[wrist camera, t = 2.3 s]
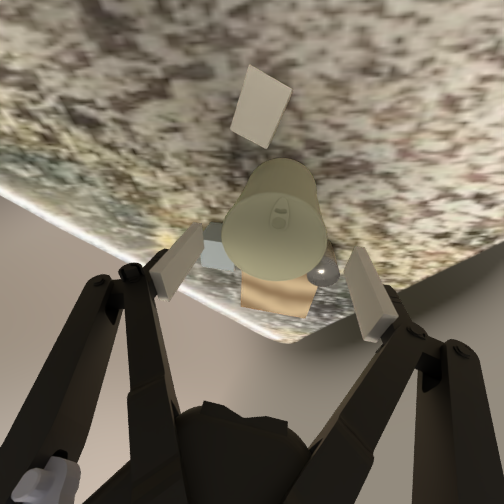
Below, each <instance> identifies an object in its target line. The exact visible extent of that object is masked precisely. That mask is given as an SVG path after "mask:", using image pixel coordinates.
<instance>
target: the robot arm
mask: <svg viewBox="0 0 504 504" xmlns="http://www.w3.org/2000/svg"><path fill="white" fill-rule="evenodd" d="M203 250H204V240H203V230H202V223H195V222H193V224H192V225H191V226H190V227H189V228H188V229H187V230H186V231H185V232H184V233H183V234H182V236H181V237H180V238H179V239H178V240H177V241H176V242H175V243H174V244H173V245H172V247H171V248H170V249H163V250H161V251H159V252H158V253H157V254H156V255H155V256H154V257H153V258H152V259H151V261H149V262H148V263H147V264H146V265H145V266H144V267H143V268H142V265H141V264H139V263H129V264H126V265H124V266H122V267H121V268H120V269H119V271H118V273H119V275H120V278H121V279H119V280H112V279H111V277H110V276H109V275H105V274H101V275H97V276H95V277H93V278H91V279H90V280H89V281H88V282H87V283H86V285H85V287H84V289H83V290H82V292H81V294H80V296H79V298H78V300H77V302H76V304H75V306H74V308H73V310H72V312H71V314H70V315H69V317H68V319H67V321H66V323H65V325H64V327H63V329H62V331H61V333H60V335H59V337H58V338H57V341H56V342H55V344H54V346H53V348H52V350H51V352H50V354H49V356H48V358H47V360H46V362H45V363H44V365H43V367H42V369H41V371H40V373H39V375H38V377H37V379H36V381H35V383H34V385H33V387H32V388H31V390H30V393H29V394H28V396H27V398H26V400H25V402H24V404H23V406H22V408H21V410H20V412H19V413H18V415H17V417H16V419H15V421H14V423H13V425H12V427H11V429H10V431H9V433H8V435H7V437H6V438H5V441H4V442H3V444H2V446H1V447H0V504H74V497H75V494H76V492H77V490H78V487H79V480H80V475H81V471H80V467H79V465H78V464H77V462H78V460H79V457H80V455H81V452H82V450H83V448H84V445H85V442H86V439H87V436H88V433H89V430H90V426H91V423H92V419H93V416H94V412H95V408H96V405H97V401H98V398H99V394H100V390H101V386H102V383H103V380H104V376H105V373H106V369H107V365H108V362H109V358H110V354H111V351H112V347H113V344H114V340H115V337H116V333H117V329H118V326H119V322H120V319H121V315H122V311H123V309H125V321H126V334H127V348H128V361H129V375H130V392H129V393H128V396H127V408H128V425H129V442H130V460H129V461H128V462H127V463H126V464H125V465H124V466H123V467H122V468H121V469H120V470H118V471H117V472H116V473H115V474H114V475H113V476H112V477H111V478H110V479H109V480H108V481H107V482H105V483H104V484H103V485H102V486H101V487H100V488H99V489H98V490H97V491H96V492H94V493H93V494H92V495H91V496H90V497H89V498H88V499H87V500H86V501H85V502H84V503H82V504H354V503H355V501H356V499H357V497H358V494H359V492H360V490H361V488H362V486H363V484H364V482H365V480H366V478H367V476H368V473H369V471H370V469H371V467H372V465H373V462H374V456H373V452H374V449H375V447H376V445H377V443H378V441H379V439H380V437H381V435H382V433H383V431H384V429H385V427H386V425H387V423H388V421H389V419H390V417H391V415H392V413H393V411H394V409H395V407H396V405H397V403H398V401H399V399H400V397H401V395H402V392H403V391H404V389H405V387H406V385H407V383H408V380H409V379H410V376H411V375H412V373H413V371H414V368H415V369H417V370H418V378H417V400H416V402H417V403H416V422H415V445H414V467H413V489H412V504H504V475H503V470H502V465H501V461H500V456H499V451H498V446H497V442H496V437H495V433H494V427H493V423H492V418H491V413H490V408H489V403H488V399H487V394H486V389H485V385H484V380H483V375H482V370H481V365H480V360H479V358H478V356H477V354H476V353H475V352H474V351H473V350H472V349H471V348H470V347H469V346H467V345H466V344H464V343H462V342H460V341H458V340H454V339H450V340H447V341H446V342H445V343H443V342H441V341H439V340H437V339H434V338H432V337H430V336H428V335H427V333H426V331H425V330H424V329H423V328H422V327H420V326H419V325H417V324H416V323H414V322H412V320H411V318H410V317H409V315H408V313H407V311H406V309H405V307H404V305H403V304H402V302H401V300H400V299H399V296H398V295H397V293H396V291H395V290H394V289H393V288H392V287H391V286H390V285H384V284H383V283H382V281H381V279H380V277H379V275H378V273H377V271H376V269H375V267H374V265H373V263H372V261H371V259H370V257H369V255H368V253H367V251H366V249H365V247H358V246H355V247H354V249H353V251H352V254H351V256H350V258H349V260H348V262H347V264H346V267H345V269H344V275H345V278H346V282H347V285H348V289H349V292H350V295H351V299H352V302H353V306H354V309H355V313H356V316H357V319H358V323H359V326H360V330H361V333H362V337H363V340H365V341H370V342H375V343H376V342H377V341H378V340H379V339H380V338H381V339H382V342H383V344H382V345H381V347H380V348H379V349H378V350H377V351H376V354H375V355H374V357H373V358H372V359H371V361H370V362H369V364H368V365H367V367H366V368H365V369H364V371H363V372H362V374H361V375H360V377H359V378H358V379H357V381H356V382H355V384H354V385H353V387H352V388H351V389H350V391H349V392H348V394H347V395H346V397H345V398H344V399H343V401H342V402H341V404H340V405H339V407H338V408H337V409H336V411H335V412H334V414H333V415H332V417H331V418H330V419H329V421H328V422H327V424H326V425H325V427H324V428H323V430H322V431H321V432H320V433H319V435H318V436H317V437H316V439H315V440H314V441H313V442H312V444H311V445H310V447H309V448H307V446H306V445H305V443H304V442H303V441H302V440H301V438H299V436H298V435H297V434H296V433H295V432H293V431H292V430H291V429H289V428H288V422H287V421H284V420H280V419H276V418H272V417H267V416H263V417H251V418H243V417H241V416H239V415H238V414H236V413H235V412H233V411H231V410H230V409H228V408H227V407H225V406H224V405H220V404H216V403H212V402H208V401H204V402H203V405H202V406H197V407H193V408H191V409H188V410H187V411H185V412H183V413H182V414H181V412H180V409H179V405H178V401H177V398H176V394H175V390H174V385H173V381H172V376H171V372H170V367H169V363H168V358H167V354H166V349H165V345H164V340H163V336H162V332H161V327H160V323H159V318H158V313H157V309H156V304H155V300H154V298H155V297H156V295H158V298H159V300H163V301H168V302H169V301H170V300H171V298H172V297H173V295H174V294H175V292H176V291H177V289H178V288H179V286H180V285H181V283H182V282H183V280H184V279H185V277H186V276H187V274H188V273H189V271H190V270H191V268H192V267H193V265H194V264H195V262H196V261H197V259H198V257H199V256H200V254H201V253H202V251H203Z"/></svg>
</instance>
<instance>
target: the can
mask: <svg viewBox="0 0 504 504" xmlns="http://www.w3.org/2000/svg"><path fill="white" fill-rule="evenodd" d="M316 194H317V189H316V183H315V180H314V178H313V176H312V174H311V172H310V171H309V170H308V169H307V168H306V167H305V166H304V165H303V164H301V163H299V162H297V161H295V160H292V159H288V158H276V159H272V160H269V161H266V162H264V163H263V164H261V165H260V166H258V167H257V168H256V169H255V170H254V172H253V173H252V174H251V176H250V178H249V180H248V182H247V185H246V187H245V188H244V190H243V192H242V193H241V195H240V197H239V198H238V200H237V201H236V203H235V204H234V206H233V207H232V208H231V209H230V210H229V212H228V213H227V215H226V217H225V219H224V221H223V224H222V230H221V239H222V244H223V247H224V250H225V252H226V254H227V256H228V257H229V259H230V260H231V261H232V262H233V263H234V264H235V265H236V266H237V267H238V268H239V269H240V270H242V271H243V272H245V273H247V274H248V275H250V276H253V277H255V278H258V279H262V280H267V281H287V280H292V279H295V278H298V277H300V276H303V275H305V274H306V273H308V272H309V271H311V270H312V269H313V268H314V267H315V266H316V265H317V264H318V263H319V262H320V260H321V259H322V257H323V255H324V253H325V251H326V247H327V230H326V227H325V224H324V221H323V219H322V216H321V212H320V207H319V203H318V199H317V195H316Z"/></svg>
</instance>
